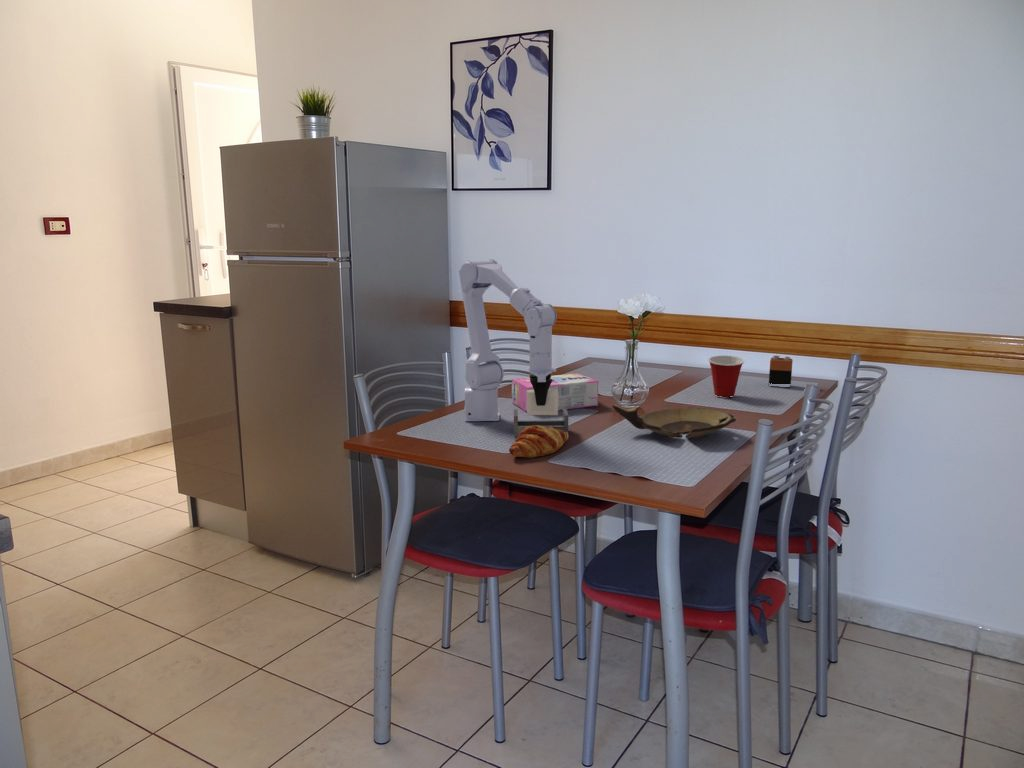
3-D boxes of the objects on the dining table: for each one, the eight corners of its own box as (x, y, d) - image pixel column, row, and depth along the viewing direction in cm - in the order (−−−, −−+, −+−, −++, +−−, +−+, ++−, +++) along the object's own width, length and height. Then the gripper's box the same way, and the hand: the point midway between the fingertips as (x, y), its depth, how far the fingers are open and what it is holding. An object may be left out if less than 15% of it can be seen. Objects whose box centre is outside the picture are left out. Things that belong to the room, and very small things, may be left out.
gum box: (602, 406, 234) (583, 396, 246) (603, 380, 232) (583, 371, 244) (527, 413, 226) (511, 403, 238) (527, 387, 224) (511, 378, 237)
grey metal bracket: (514, 437, 202) (513, 416, 201) (513, 429, 209) (513, 409, 208) (568, 436, 202) (568, 415, 201) (566, 429, 209) (566, 408, 208)
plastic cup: (707, 399, 241) (709, 361, 238) (705, 391, 251) (707, 355, 248) (744, 400, 239) (746, 362, 236) (740, 393, 249) (742, 355, 246)
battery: (769, 384, 262) (771, 354, 260) (790, 385, 259) (792, 355, 257) (768, 386, 258) (770, 356, 256) (790, 388, 255) (792, 358, 253)
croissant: (557, 452, 201) (546, 423, 202) (586, 440, 194) (574, 410, 195) (503, 471, 185) (491, 439, 186) (532, 459, 179) (520, 426, 180)
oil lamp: (722, 452, 188) (724, 421, 187) (605, 437, 202) (605, 408, 200) (742, 429, 208) (743, 401, 206) (633, 417, 221) (634, 390, 220)
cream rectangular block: (527, 415, 203) (527, 392, 202) (526, 412, 206) (527, 389, 205) (557, 415, 203) (558, 392, 202) (557, 412, 206) (557, 390, 205)
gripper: (557, 357, 194) (557, 410, 197) (554, 347, 208) (554, 397, 211) (529, 357, 194) (529, 410, 197) (528, 347, 208) (528, 397, 211)
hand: (540, 403), depth 204 cm, fingers closed on cream rectangular block, 3 cm apart
